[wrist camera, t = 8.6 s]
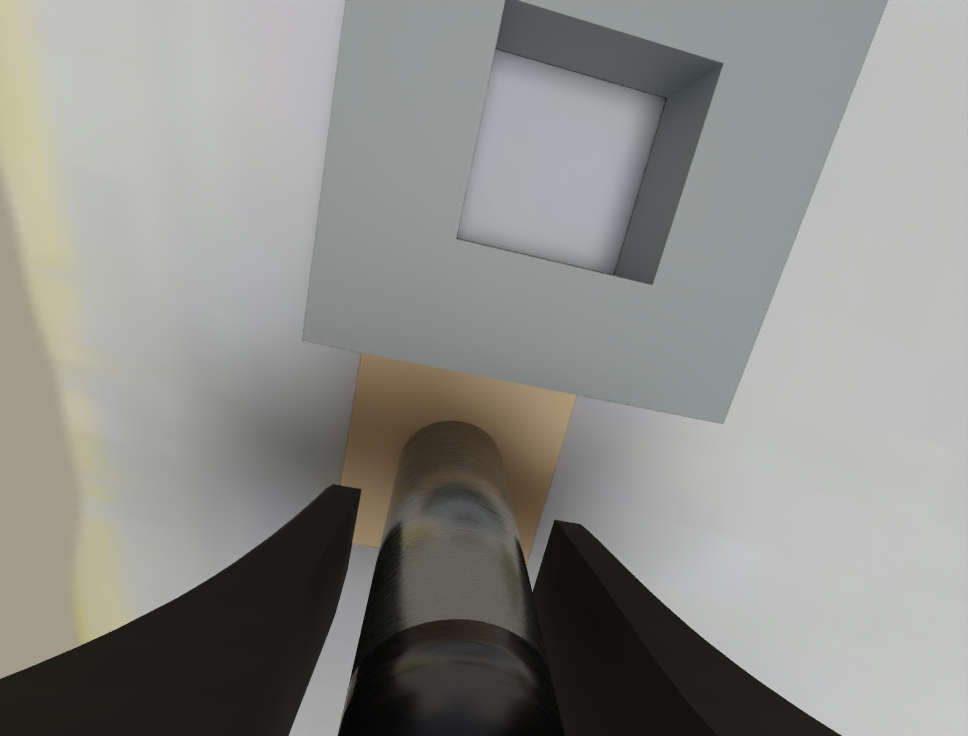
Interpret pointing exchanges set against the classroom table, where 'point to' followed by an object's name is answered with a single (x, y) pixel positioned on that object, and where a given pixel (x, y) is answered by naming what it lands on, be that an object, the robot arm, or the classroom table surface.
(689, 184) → the block
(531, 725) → the shiny metal cylinder
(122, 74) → the classroom table surface
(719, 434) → the classroom table surface
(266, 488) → the classroom table surface
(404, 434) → the pad
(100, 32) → the classroom table surface
